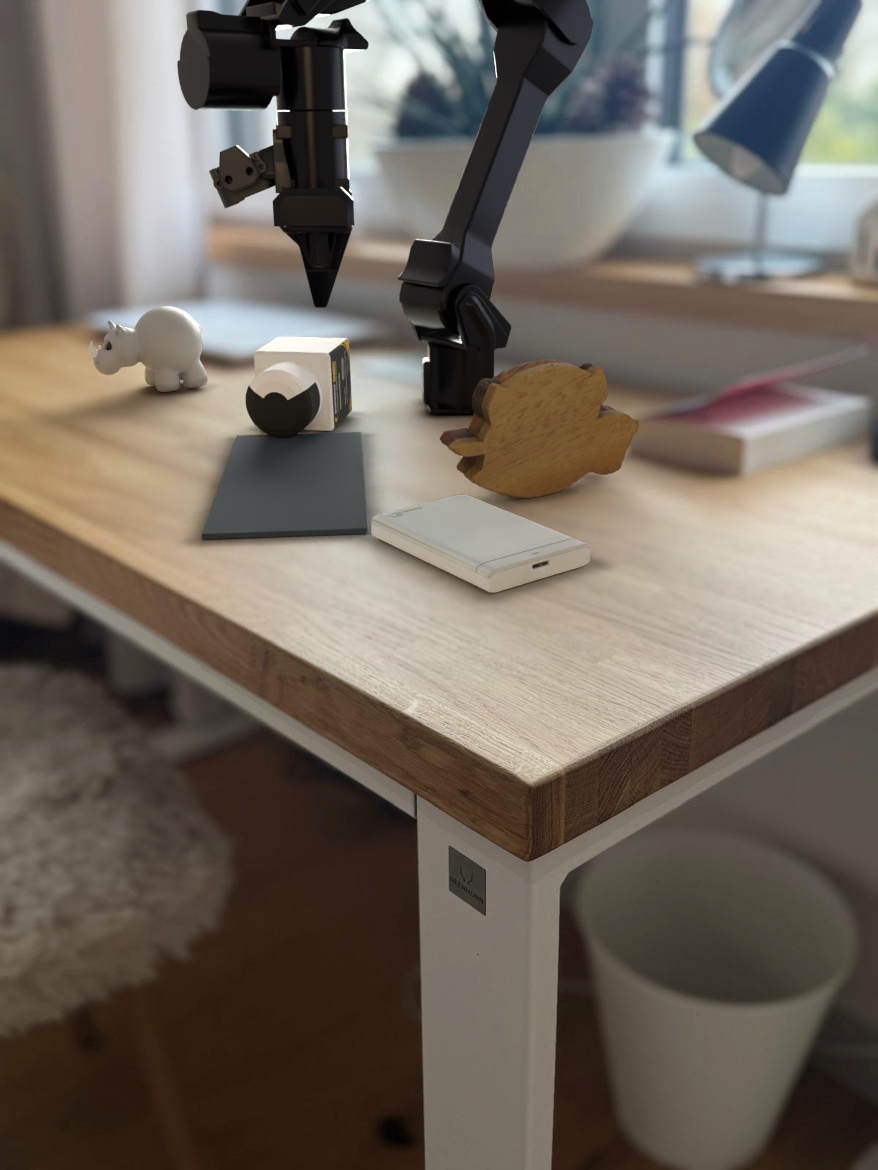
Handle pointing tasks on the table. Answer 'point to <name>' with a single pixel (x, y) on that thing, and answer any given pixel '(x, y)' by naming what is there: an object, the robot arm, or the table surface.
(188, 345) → the chubby cartoon animal
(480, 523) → the hard drive
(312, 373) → the medicine bottle
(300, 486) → the slate mat
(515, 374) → the wooden carving
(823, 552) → the table surface
